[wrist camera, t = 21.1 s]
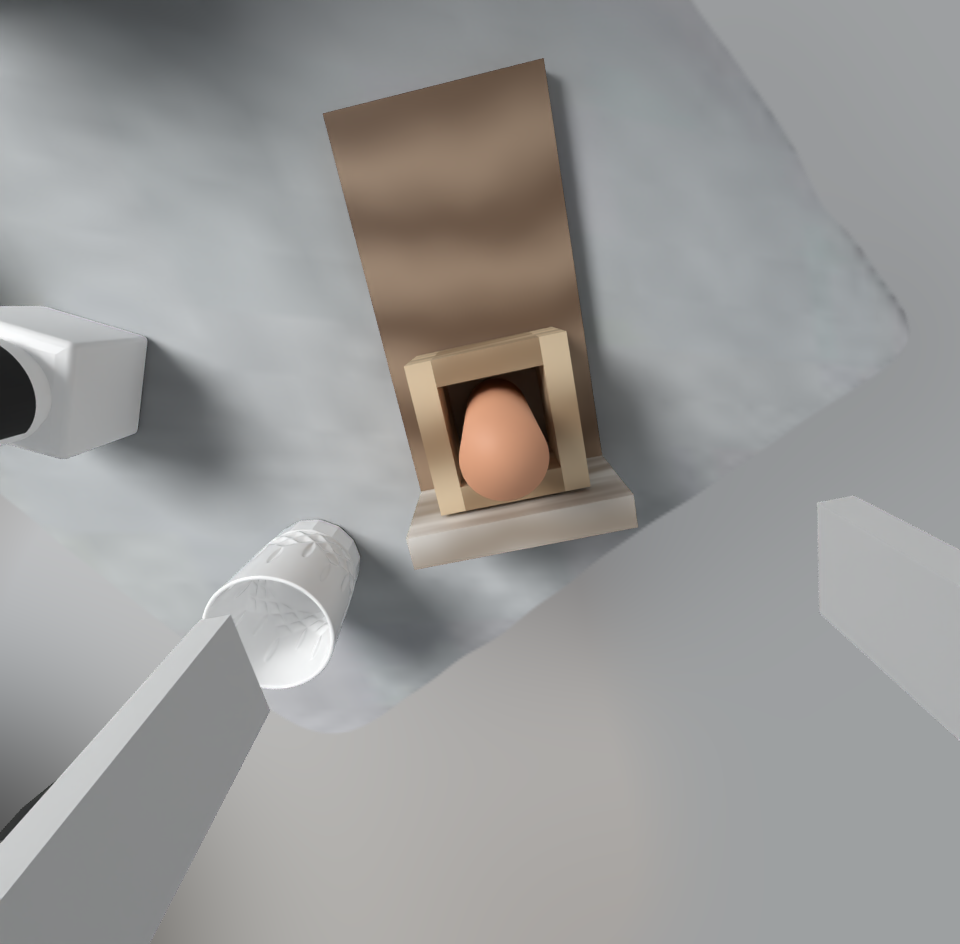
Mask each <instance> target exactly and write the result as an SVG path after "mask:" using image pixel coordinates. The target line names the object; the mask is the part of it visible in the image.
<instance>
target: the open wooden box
mask: <svg viewBox="0 0 960 944" xmlns="http://www.w3.org/2000/svg"><path fill="white" fill-rule="evenodd" d="M531 367H535V368H536V373H537V379H538V385H539V390H540V396H541V402H542V407H543V413H544V419H545V424H546V430H547V435H548V441H549V442H547V445H548V449H549V465H548V469H547V472H546V475H545V477H544V479H543V480H542V482H541V483H540V484H539V486H538V487H537V488H536V489H535V490H533V491H532V492H531V493H529V494H528V495H526V496H524V497H522V498H519V499H516V500H512V501H496V500H491V499H488V498H485V497H483V496H481V495H480V494H478V493H477V492H475V491H474V490H473V489H472V488H471V487H470V486H469V485H468V484H467V482H466V481H465V479H464V477H463V475H462V472H461V469H460V465H459V451H460V441H459V437H458V433H457V428H456V424H455V420H454V415H453V411H452V407H451V402H450V398H449V394H448V389H447V385H451V384H456V383H461V382H465V381H470V380H475V379H480V378H484V377H489V376H494V375H498V374H503V373H508V372H512V371H517V370H522V369H526V368H531ZM404 370H405V373H406V377H407V381H408V385H409V389H410V393H411V397H412V401H413V405H414V409H415V413H416V417H417V421H418V425H419V429H420V433H421V437H422V441H423V445H424V449H425V453H426V457H427V461H428V465H429V469H430V473H431V477H432V481H433V485H434V489H435V492H436V496H437V500H438V504H439V508H440V512H441V516H443V515H448V514H453V513H458V512H463V511H468V510H473V509H478V508H483V507H488V506H493V505H499V504H504V503H509V502H514V501H519V500H524V499H529V498H534V497H539V496H544V495H549V494H554V493H560V492H565V491H570V490H575V489H580V488H585V487H590V486H591V485H590V479H589V472H588V466H587V460H586V453H585V447H584V441H583V434H582V428H581V421H580V415H579V409H578V402H577V396H576V390H575V383H574V377H573V370H572V364H571V358H570V351H569V345H568V339H567V332H566V331H564V330H561V329H558V328H554V327H548V328H544V329H539V330H535V331H530V332H526V333H521V334H516V335H512V336H507V337H503V338H498V339H493V340H489V341H484V342H480V343H475V344H470V345H466V346H461V347H457V348H452V349H447V350H443V351H438V352H434V353H429V354H424V355H420V356H416V357H415V358H414V359H412V360H411V361H410V362H409V363H407V364H406V365H405V366H404Z"/></svg>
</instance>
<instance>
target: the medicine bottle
mask: <svg viewBox="0 0 960 944" xmlns="http://www.w3.org/2000/svg"><path fill="white" fill-rule="evenodd" d="M147 343H148V342H147V338H146V337H144V336H142V335H139V334H136V333H133V332H129V331H126V330H122V329H119V328H116V327H112V326H109V325H106V324H102V323H99V322H96V321H92V320H89V319H86V318H82V317H79V316H76V315H72V314H69V313H66V312H62V311H59V310H56V309H52V308H49V307H46V306H0V446H2V445H6V444H8V445H12V446H15V447H19V448H23V449H26V450H30V451H34V452H37V453H41V454H44V455H48V456H52V457H55V458H59V459H68V458H70V457H73V456H76V455H79V454H81V453H84V452H87V451H89V450H92V449H95V448H97V447H100V446H103V445H105V444H108V443H111V442H114V441H116V440H119V439H122V438H124V437H127V436H130V435H132V434H135V433H136V432H137V430H138V423H139V414H140V405H141V396H142V387H143V378H144V369H145V360H146V351H147Z"/></svg>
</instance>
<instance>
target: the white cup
mask: <svg viewBox="0 0 960 944" xmlns="http://www.w3.org/2000/svg"><path fill="white" fill-rule="evenodd" d="M359 565H360V555H359V552H358V550H357V547H356V545H355V542H354V540H353V539H352V538H351V537H350V536H349V535H348V534H347V533H346V532H345V531H344V530H343V529H341V528H340V527H339V526H337V525H334V524H331V523H329V522H326V521H323V520H320V519H318V520H302V521H298V522H297V523H295V524H293V525H291V526H290V527H288V528H286V529H284V530H283V531H282V532H281V533H280V534H279V535H278V536H277V537H276V538H275V539H273V540H272V541H270V542H269V543H268V544H267V545H266V546H264V547H263V548H262V549H261V550H260V551H259V552H258V553H257V554H256V555H254V556H253V557H252V558H251V559H250V560H249V561H248V562H247V563H246V564H245V565H244V566H243V567H242V568H241V569H240V570H239V571H238V572H237V573H236V574H235V575H234V576H233V577H231V578H230V579H229V580H228V581H227V582H226V583H225V584H224V585H223V586H222V587H221V588H220V589H219V590H218V591H217V592H216V593H215V594H214V595H213V596H212V597H211V599H210V600H209V602H208V603H207V605H206V608H205V610H204V613H203V618H202V620H203V619H208V618H214V617H219V616H224V615H229V614H231V616H232V619H233V621H234V624H235V626H236V629H237V631H238V633H239V636H240V638H241V641H242V643H243V646H244V648H245V651H246V653H247V655H248V658H249V660H250V663H251V665H252V668H253V670H254V672H255V675H256V677H257V680H258V682H259V685H260V687H261V688H264V689H288V688H293V687H297V686H300V685H302V684H305V683H307V682H309V681H310V680H312V679H314V678H315V677H316V676H317V675H319V674H320V673H321V672H322V671H323V670H324V668H325V667H326V666H327V664H328V663H329V661H330V659H331V656H332V654H333V651H334V648H335V645H336V642H337V639H338V636H339V634H340V631H341V628H342V625H343V622H344V620H345V617H346V614H347V611H348V608H349V604H350V601H351V598H352V595H353V591H354V587H355V583H356V580H357V578H358V575H359Z"/></svg>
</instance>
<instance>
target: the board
mask: <svg viewBox="0 0 960 944" xmlns="http://www.w3.org/2000/svg"><path fill="white" fill-rule="evenodd" d="M323 117H324V120H325V124H326V128H327V132H328V136H329V140H330V143H331V147H332V151H333V155H334V159H335V163H336V166H337V170H338V174H339V178H340V182H341V186H342V189H343V193H344V197H345V201H346V205H347V209H348V212H349V216H350V220H351V224H352V228H353V232H354V236H355V239H356V243H357V247H358V251H359V255H360V259H361V262H362V266H363V270H364V274H365V278H366V282H367V285H368V289H369V293H370V297H371V301H372V305H373V308H374V312H375V316H376V320H377V324H378V328H379V331H380V335H381V339H382V343H383V347H384V351H385V354H386V358H387V362H388V366H389V370H390V374H391V377H392V381H393V385H394V389H395V393H396V397H397V400H398V404H399V408H400V412H401V416H402V420H403V424H404V427H405V431H406V435H407V439H408V443H409V447H410V450H411V454H412V458H413V462H414V466H415V470H416V473H417V477H418V481H419V485H420V489H421V494H420V497H419V500H418V503H417V506H416V509H415V513H414V516H413V519H412V522H411V525H410V528H409V531H408V534H407V538H406V541H407V544H408V548H409V552H410V555H411V559H412V562H413V566H414V570H417V569H422V568H427V567H432V566H438V565H443V564H448V563H453V562H459V561H464V560H469V559H474V558H480V557H485V556H490V555H495V554H501V553H506V552H511V551H516V550H522V549H527V548H532V547H537V546H543V545H548V544H553V543H558V542H564V541H569V540H574V539H579V538H585V537H590V536H595V535H600V534H606V533H611V532H616V531H621V530H627V529H632V528H637V527H638V523H637V516H636V508H635V501H634V494H633V493H632V492H631V491H630V489H629V488H628V487H627V486H626V484H625V483H624V482H623V481H622V480H621V478H620V477H619V476H618V475H617V473H616V472H615V471H614V470H613V468H612V467H611V466H610V465H609V463H608V462H607V461H606V460H605V458H604V457H603V456H602V451H601V445H600V438H599V431H598V424H597V418H596V411H595V404H594V397H593V390H592V384H591V377H590V370H589V363H588V356H587V350H586V343H585V336H584V329H583V322H582V316H581V309H580V302H579V295H578V288H577V282H576V275H575V268H574V261H573V254H572V248H571V241H570V234H569V227H568V220H567V214H566V207H565V200H564V193H563V186H562V180H561V173H560V166H559V159H558V152H557V146H556V139H555V132H554V125H553V118H552V112H551V105H550V98H549V91H548V84H547V78H546V71H545V64H544V58H542V59H538V60H534V61H530V62H526V63H522V64H518V65H514V66H510V67H506V68H502V69H498V70H494V71H490V72H486V73H482V74H478V75H474V76H471V77H467V78H463V79H459V80H455V81H451V82H447V83H443V84H439V85H435V86H431V87H427V88H423V89H419V90H415V91H411V92H407V93H403V94H399V95H395V96H391V97H387V98H383V99H379V100H375V101H371V102H367V103H363V104H359V105H355V106H351V107H347V108H343V109H339V110H335V111H331V112H327V113H323ZM548 327H554V328H558V329H561V330H564V331H566V332H567V339H568V345H569V351H570V358H571V364H572V370H573V377H574V383H575V390H576V396H577V402H578V409H579V415H580V421H581V428H582V434H583V441H584V447H585V453H586V460H587V466H588V472H589V479H590V485H591V486H590V487H585V488H580V489H575V490H570V491H565V492H560V493H554V494H549V495H544V496H539V497H534V498H529V499H524V500H519V501H514V502H509V503H504V504H499V505H493V506H488V507H483V508H478V509H473V510H468V511H463V512H458V513H453V514H448V515H443V516H441V512H440V508H439V504H438V500H437V496H436V492H435V489H434V485H433V481H432V477H431V473H430V469H429V465H428V461H427V457H426V453H425V449H424V445H423V441H422V437H421V433H420V429H419V425H418V421H417V417H416V413H415V409H414V405H413V401H412V397H411V393H410V389H409V385H408V381H407V377H406V373H405V370H404V366H405V365H406V364H407V363H409V362H410V361H411V360H412V359H414V358H415V357H416V356H420V355H424V354H429V353H434V352H438V351H443V350H447V349H452V348H457V347H461V346H466V345H470V344H475V343H480V342H484V341H489V340H493V339H498V338H503V337H507V336H512V335H516V334H521V333H526V332H530V331H535V330H539V329H544V328H548ZM491 378H502V379H506V380H508V381H510V382H512V383H514V384H515V385H516V386H517V387H518V388H519V389H520V390H521V392H522V394H523V396H524V398H525V400H526V402H527V404H528V406H529V408H530V410H531V412H532V414H533V416H534V418H535V420H536V422H537V424H538V426H539V428H540V430H541V432H542V434H543V435H544V438H545V440H546V442H549V441H548V435H547V430H546V424H545V419H544V413H543V407H542V402H541V396H540V390H539V385H538V379H537V373H536V368H535V367H531V368H526V369H522V370H517V371H512V372H508V373H503V374H498V375H494V376H489V377H484V378H480V379H475V380H470V381H465V382H461V383H456V384H451V385H447V389H448V394H449V398H450V402H451V407H452V411H453V415H454V420H455V424H456V428H457V433H458V437H459V441H460V445H461V439H462V433H463V426H464V420H465V414H466V407H467V402H468V398H469V395H470V393H471V392H472V390H473V389H474V388H475V387H476V386H477V385H478V384H479V383H481V382H483V381H485V380H487V379H491Z"/></svg>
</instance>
